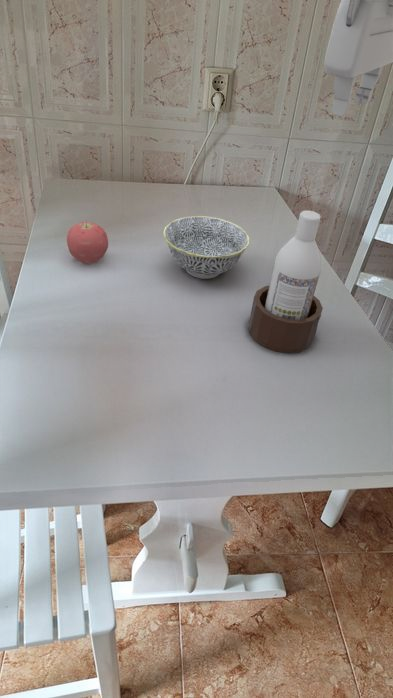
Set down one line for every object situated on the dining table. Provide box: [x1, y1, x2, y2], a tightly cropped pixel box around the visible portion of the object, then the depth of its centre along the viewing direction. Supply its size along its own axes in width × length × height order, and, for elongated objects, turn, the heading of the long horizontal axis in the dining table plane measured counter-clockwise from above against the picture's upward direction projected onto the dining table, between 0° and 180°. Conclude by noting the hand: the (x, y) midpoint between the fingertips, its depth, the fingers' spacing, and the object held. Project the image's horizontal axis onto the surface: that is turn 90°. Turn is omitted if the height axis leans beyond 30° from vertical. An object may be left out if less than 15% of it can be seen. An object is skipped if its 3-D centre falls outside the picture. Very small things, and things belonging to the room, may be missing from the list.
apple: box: [66, 220, 109, 265], centre depth 91 cm, size 7×7×8 cm
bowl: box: [163, 215, 250, 280], centre depth 92 cm, size 16×16×8 cm
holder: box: [248, 284, 324, 354], centre depth 79 cm, size 11×11×6 cm
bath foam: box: [265, 210, 322, 320], centre depth 74 cm, size 7×7×20 cm
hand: (350, 108), depth 63 cm, fingers open, 8 cm apart
